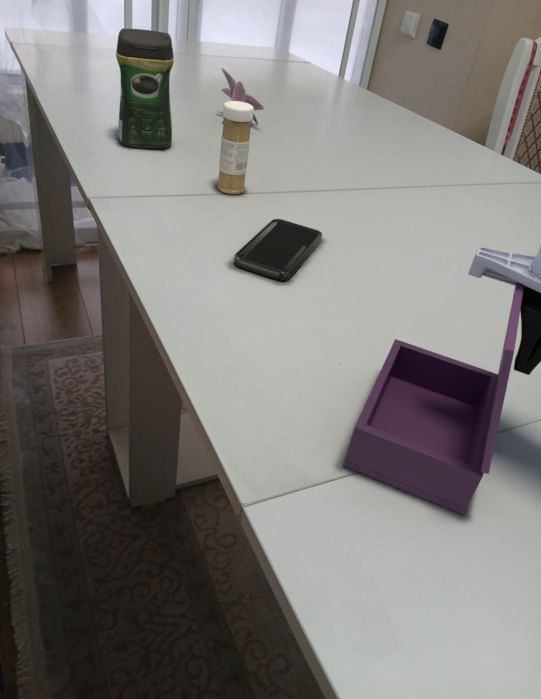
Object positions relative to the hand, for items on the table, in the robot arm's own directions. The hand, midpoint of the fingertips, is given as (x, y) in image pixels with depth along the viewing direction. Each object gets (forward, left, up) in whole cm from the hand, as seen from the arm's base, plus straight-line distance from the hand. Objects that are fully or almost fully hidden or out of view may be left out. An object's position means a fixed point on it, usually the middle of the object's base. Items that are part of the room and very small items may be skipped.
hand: (522, 366), depth 53 cm
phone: (+31, -22, -9) cm, 39 cm away
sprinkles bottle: (+46, -37, -9) cm, 60 cm away
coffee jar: (+68, -46, -9) cm, 83 cm away
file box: (+6, +4, -8) cm, 11 cm away
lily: (+61, -71, -9) cm, 94 cm away
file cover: (+2, +4, +2) cm, 5 cm away
